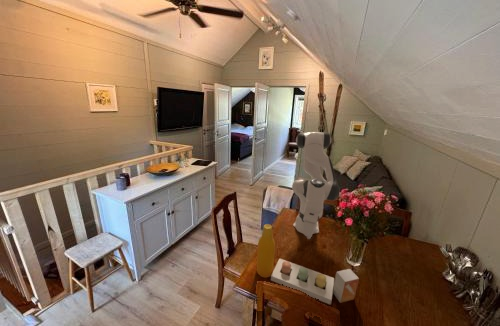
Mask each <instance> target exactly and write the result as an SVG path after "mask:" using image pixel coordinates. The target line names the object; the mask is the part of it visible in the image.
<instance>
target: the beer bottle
mask: <svg viewBox="0 0 500 326" xmlns="http://www.w3.org/2000/svg"><path fill="white" fill-rule="evenodd" d="M275 252H276V243H275V238H274V237H273V226H272V225H271V224H269V223H266V224H264V225H263V229H262V234H261V236H260V238H259V239H258V242H257V255H256V256H257V259H256V272H257V275H259V276H260V277H262V278H264V279H265V278H269V277H270V278H271V275H272V273H273V271H274V268H275V267H274V266H275V265H274V264H275Z"/></svg>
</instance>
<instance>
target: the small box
mask: <svg viewBox="0 0 500 326" xmlns="http://www.w3.org/2000/svg"><path fill="white" fill-rule="evenodd" d="M359 281H360V278H359V277H358V276H357V274H355V272H354V271H353V270H352V269H351V268H347V269H342V270H339V271H338V270H337V271H336V273H335V278H334V284H333V293H332V295H334V296H335V298H336V299H337V300H338V302H339V303H340V304H342V303H346V302H348V301H353V300H354V299H355V296H356V292H357V288H358V284H359Z"/></svg>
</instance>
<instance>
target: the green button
mask: <svg viewBox="0 0 500 326" xmlns="http://www.w3.org/2000/svg"><path fill="white" fill-rule="evenodd" d="M303 267H304V266H302V267H301V268H299V273H298V278H297V279H298V280H301V281H303V282H307V280H308V279H307V276H308V270H307V269H306V268H307V267H305V268H303Z"/></svg>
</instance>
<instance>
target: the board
mask: <svg viewBox="0 0 500 326" xmlns="http://www.w3.org/2000/svg"><path fill="white" fill-rule="evenodd" d="M285 261H287V262H289V263H290V264H291V270H290V274H288V275H285V274H283V273H282V263H283V262H285ZM301 267H303V268H306V269H307V270H308V276H307V280H306V281H301V280H299V278H298V273H299V268H301ZM318 274H323V273H321V272H319V271H316V270H313V269H310V268H307V267H305V266H303V265H299V264H297V263H293V262H291V261H288V260H285V259H283V258H279V259H278V261H277V262H276V264H275V267H274V268H273V273H272V275H271V276H270V281H272V282H275V283H276V284H279V285H281V286H283V287H286V286H287V287H286V288H288V287H290V288H289V289H291V288H293V289H297V290H300V291H302V292H304V293H306V294H307V295H306V296H308V295H309V296H308V297H311V298H313V299H315V298H316V299H315V300H317V299H319V300H318V301H320V302H323V303H325V304H327V305H330V306H331V305H332V299H333V286H334V281H335V278H334V277H332V276H329V275H328V274H327V275H326V274H325V273H324V274H323V275H324V276H325V277H326V284H325V287H324V288H325V289H324V288H319V287H317V286H316V277H317V275H318ZM282 284H283V285H282ZM293 289H292V290H293Z"/></svg>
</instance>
